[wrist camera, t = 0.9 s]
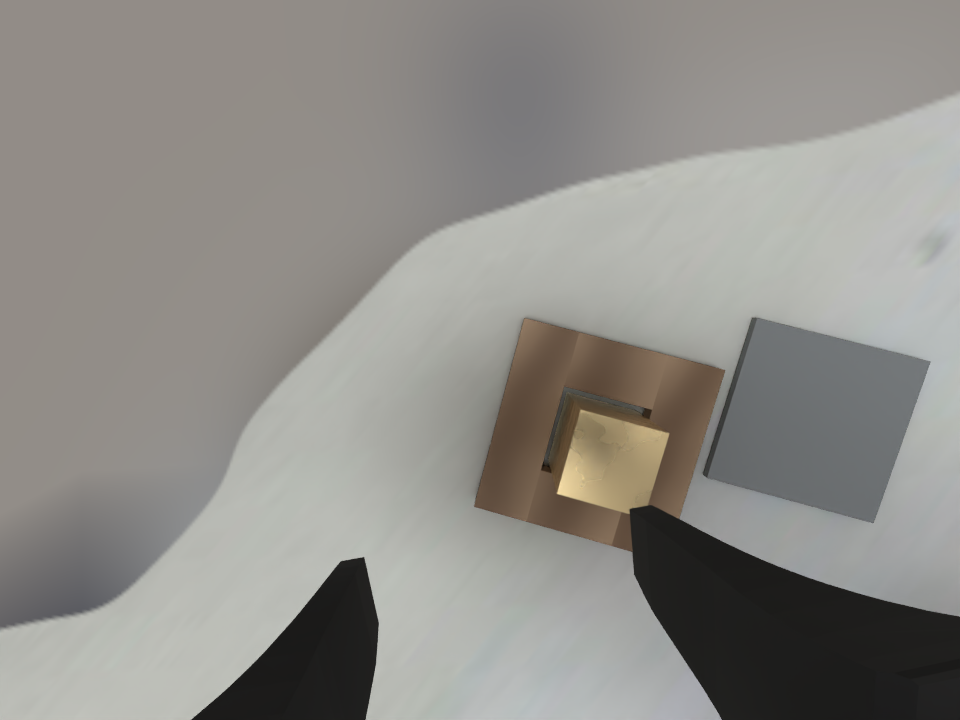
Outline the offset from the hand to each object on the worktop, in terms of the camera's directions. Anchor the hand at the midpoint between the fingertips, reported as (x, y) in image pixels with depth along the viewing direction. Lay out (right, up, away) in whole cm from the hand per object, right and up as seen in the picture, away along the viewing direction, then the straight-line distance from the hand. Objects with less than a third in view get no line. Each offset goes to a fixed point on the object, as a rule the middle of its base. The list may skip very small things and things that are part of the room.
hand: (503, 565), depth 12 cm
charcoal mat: (+17, +2, +13) cm, 22 cm away
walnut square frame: (+6, +1, +14) cm, 15 cm away
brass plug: (+6, +1, +14) cm, 15 cm away
